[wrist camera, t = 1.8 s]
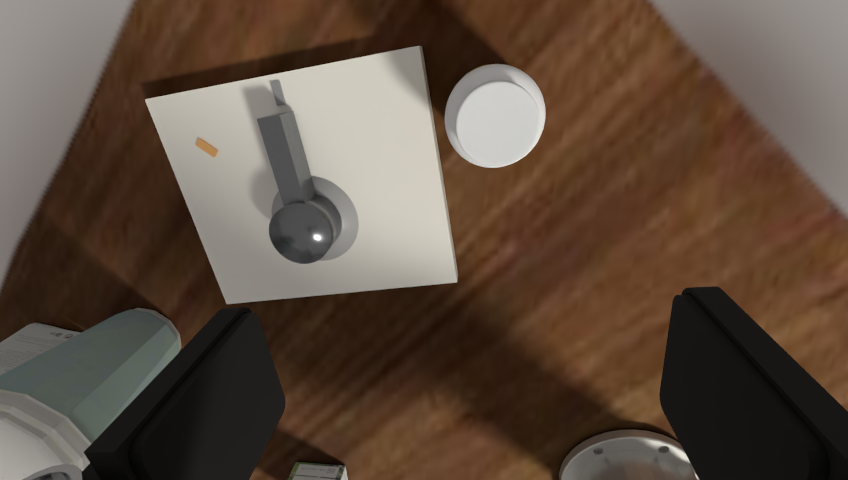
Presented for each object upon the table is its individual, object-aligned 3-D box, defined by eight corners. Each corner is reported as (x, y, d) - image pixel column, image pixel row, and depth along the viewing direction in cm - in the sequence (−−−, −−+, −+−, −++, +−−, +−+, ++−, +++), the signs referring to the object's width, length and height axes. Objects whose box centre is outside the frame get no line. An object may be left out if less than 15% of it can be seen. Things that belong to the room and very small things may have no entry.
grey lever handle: (348, 244, 32) (336, 260, 30) (294, 250, 33) (279, 266, 30) (312, 107, 28) (296, 112, 26) (253, 118, 29) (231, 123, 27)
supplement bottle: (536, 136, 29) (561, 170, 20) (459, 153, 30) (451, 192, 21) (524, 54, 27) (547, 51, 18) (443, 74, 28) (427, 81, 19)
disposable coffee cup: (106, 269, 38) (-102, 387, 24) (218, 316, 39) (75, 457, 25) (96, 353, 42) (-85, 493, 29) (197, 394, 43) (66, 550, 29)
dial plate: (422, 46, 28) (418, 45, 26) (458, 273, 34) (457, 283, 33) (159, 97, 31) (142, 99, 30) (235, 295, 38) (225, 305, 36)
